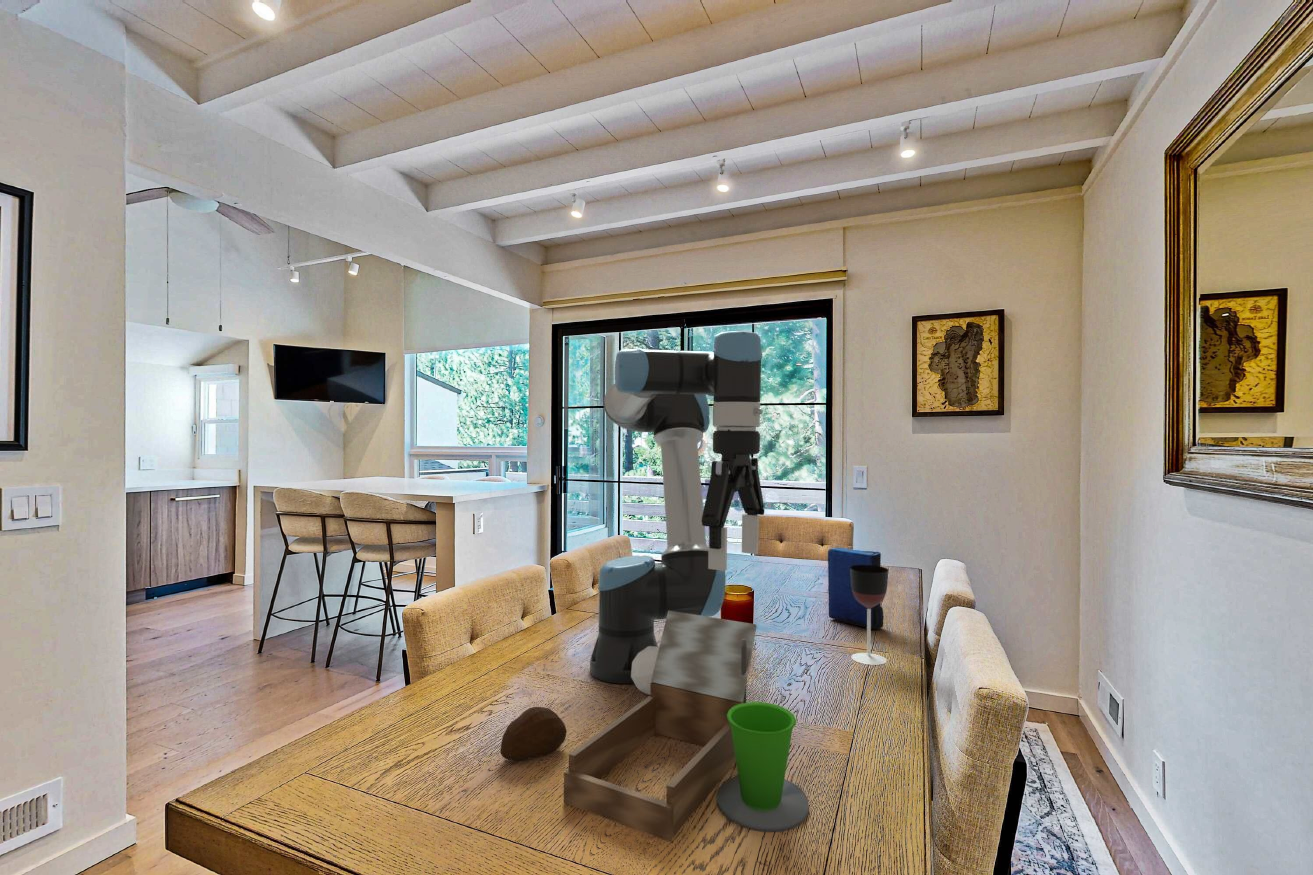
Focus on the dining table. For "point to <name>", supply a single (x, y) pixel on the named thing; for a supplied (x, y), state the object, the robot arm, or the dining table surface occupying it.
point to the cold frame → (671, 726)
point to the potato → (533, 735)
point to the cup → (761, 751)
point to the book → (841, 591)
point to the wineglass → (869, 601)
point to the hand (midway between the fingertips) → (734, 560)
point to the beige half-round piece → (644, 668)
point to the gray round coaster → (775, 820)
